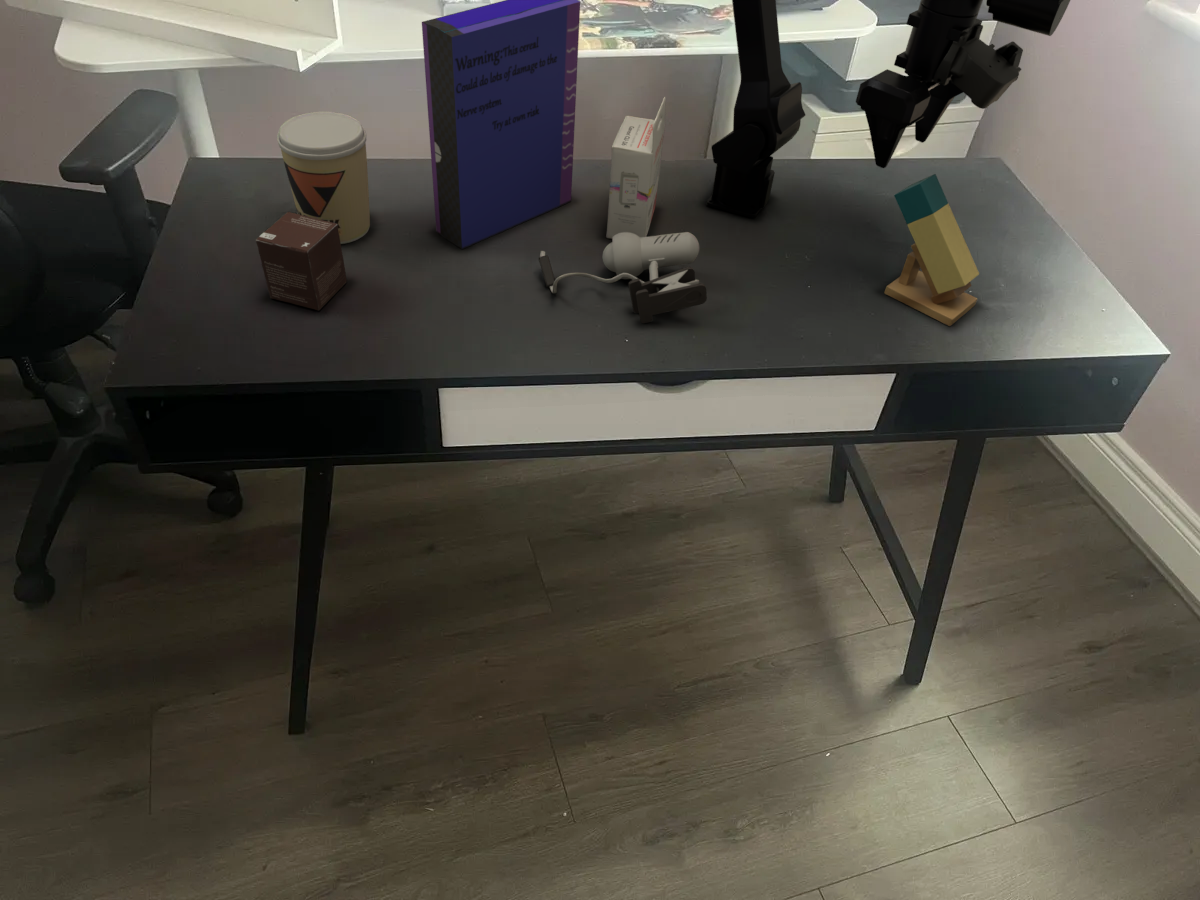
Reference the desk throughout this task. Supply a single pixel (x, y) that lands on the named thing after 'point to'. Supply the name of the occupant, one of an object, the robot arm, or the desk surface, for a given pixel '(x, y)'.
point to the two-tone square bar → (937, 234)
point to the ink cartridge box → (635, 174)
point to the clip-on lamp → (650, 253)
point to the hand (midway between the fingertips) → (900, 153)
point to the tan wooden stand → (928, 292)
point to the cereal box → (501, 114)
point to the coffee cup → (328, 170)
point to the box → (302, 260)
